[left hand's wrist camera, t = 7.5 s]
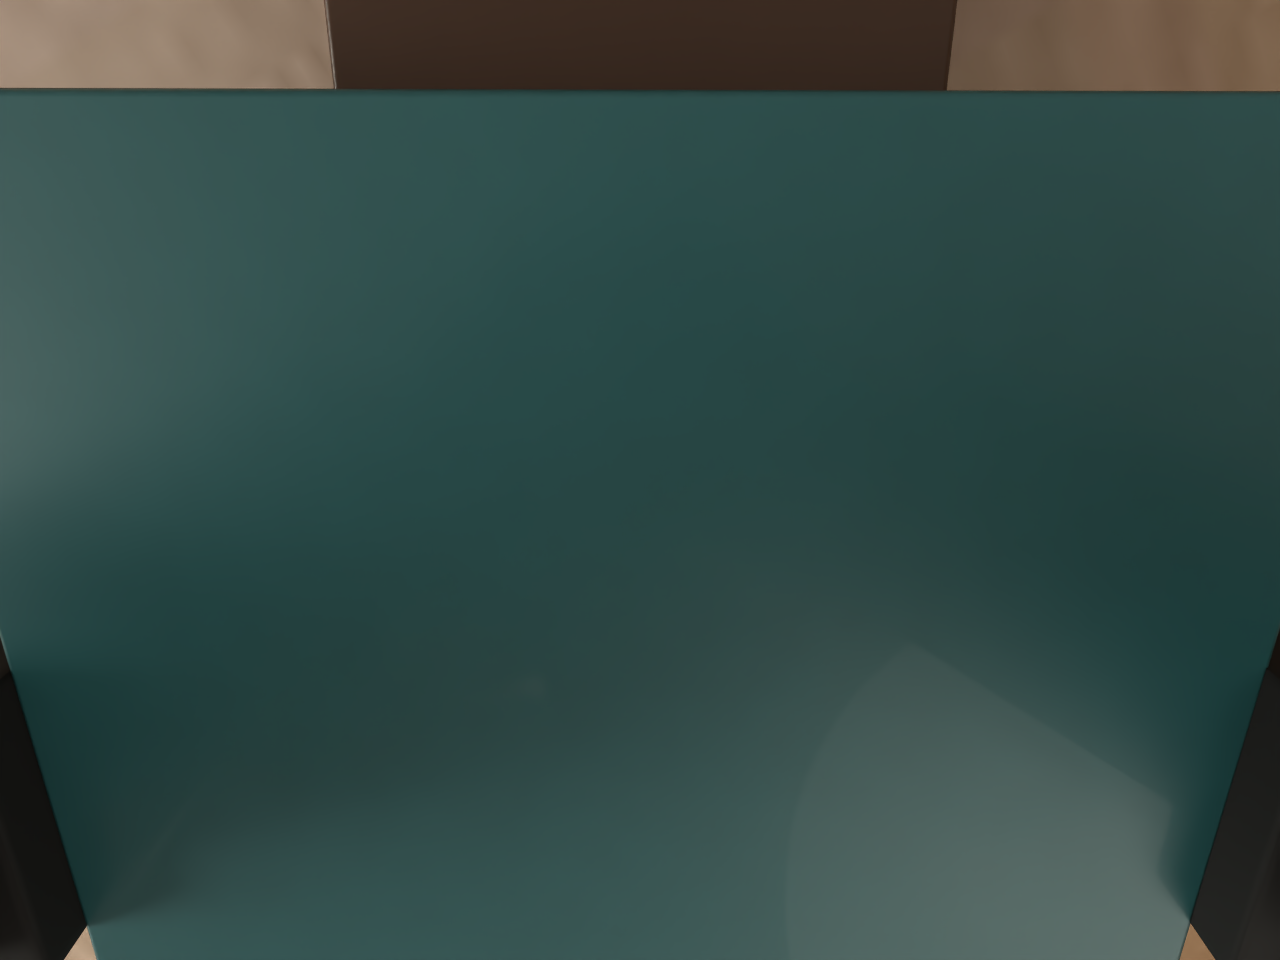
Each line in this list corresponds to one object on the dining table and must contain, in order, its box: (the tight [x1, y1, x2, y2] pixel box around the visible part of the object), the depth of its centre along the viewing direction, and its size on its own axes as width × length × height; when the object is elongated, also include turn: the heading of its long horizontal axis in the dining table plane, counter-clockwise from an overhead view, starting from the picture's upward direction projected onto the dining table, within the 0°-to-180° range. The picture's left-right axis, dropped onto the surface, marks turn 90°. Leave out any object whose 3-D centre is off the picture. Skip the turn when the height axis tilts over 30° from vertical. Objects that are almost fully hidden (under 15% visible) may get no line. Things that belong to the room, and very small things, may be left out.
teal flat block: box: [0, 88, 1280, 960], centre depth 10 cm, size 11×10×5 cm
